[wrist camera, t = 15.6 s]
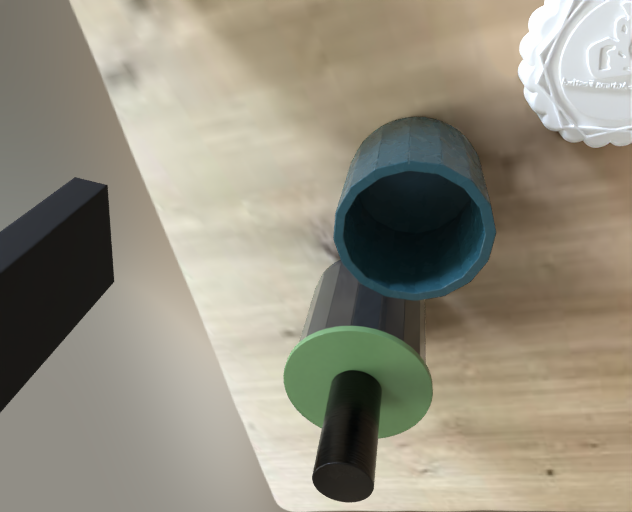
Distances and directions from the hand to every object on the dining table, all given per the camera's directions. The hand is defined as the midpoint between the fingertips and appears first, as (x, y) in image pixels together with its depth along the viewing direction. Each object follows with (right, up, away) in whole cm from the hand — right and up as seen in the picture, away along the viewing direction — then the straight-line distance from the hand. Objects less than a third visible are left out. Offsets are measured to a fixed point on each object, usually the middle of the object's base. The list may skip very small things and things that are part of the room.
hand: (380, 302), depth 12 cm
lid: (+2, -9, +29) cm, 30 cm away
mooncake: (+19, +15, +24) cm, 34 cm away
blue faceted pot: (+7, +7, +31) cm, 33 cm away
